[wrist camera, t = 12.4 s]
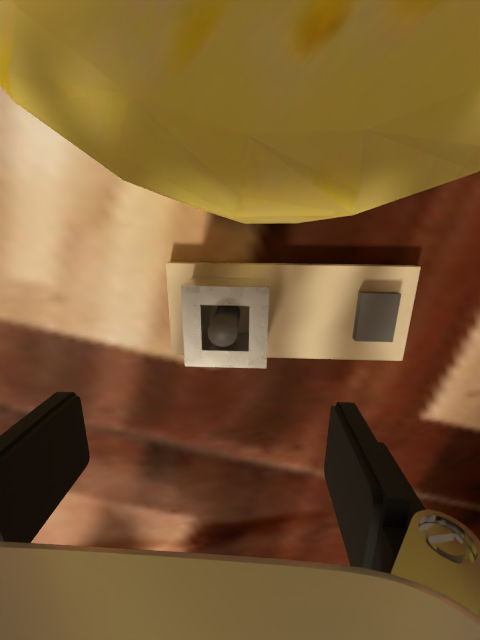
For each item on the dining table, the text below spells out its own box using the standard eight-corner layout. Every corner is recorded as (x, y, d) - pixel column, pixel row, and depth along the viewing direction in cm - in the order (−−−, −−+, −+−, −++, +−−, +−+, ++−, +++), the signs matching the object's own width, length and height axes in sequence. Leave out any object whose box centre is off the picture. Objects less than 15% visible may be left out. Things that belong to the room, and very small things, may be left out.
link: (266, 277, 23) (269, 287, 19) (263, 347, 25) (266, 368, 21) (192, 276, 23) (180, 285, 20) (195, 345, 25) (185, 366, 21)
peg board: (412, 265, 24) (466, 277, 18) (395, 354, 26) (438, 391, 20) (170, 261, 24) (143, 272, 18) (175, 349, 27) (153, 383, 21)
